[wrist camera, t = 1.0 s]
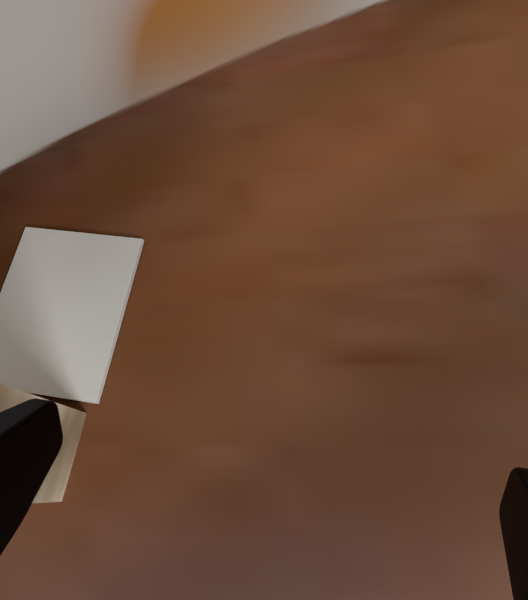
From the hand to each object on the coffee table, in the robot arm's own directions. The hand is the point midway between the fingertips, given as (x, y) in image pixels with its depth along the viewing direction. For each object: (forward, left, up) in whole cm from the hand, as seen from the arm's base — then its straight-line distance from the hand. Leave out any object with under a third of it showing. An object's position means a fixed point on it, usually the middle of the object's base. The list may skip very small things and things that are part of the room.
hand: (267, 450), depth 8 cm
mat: (0, +15, -14) cm, 20 cm away
